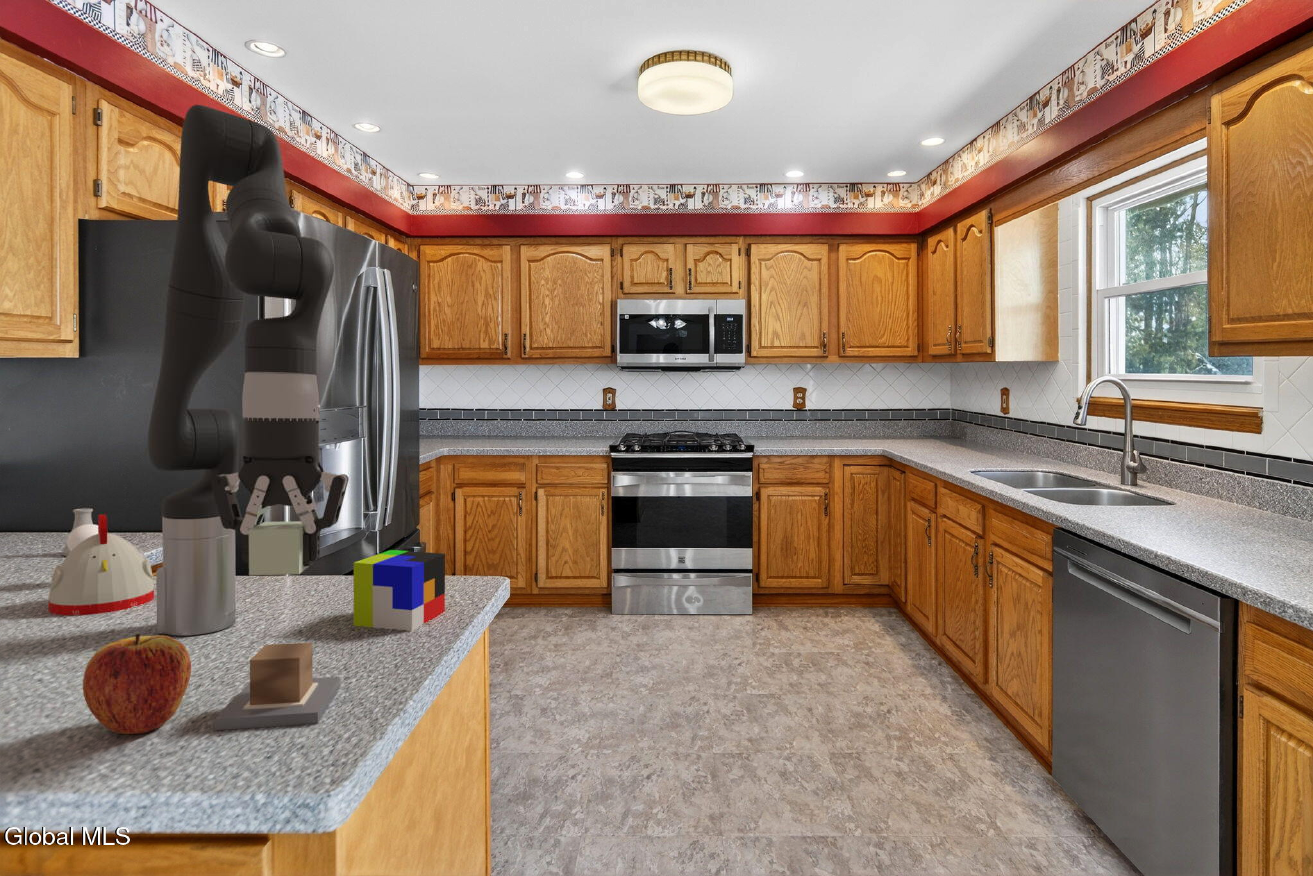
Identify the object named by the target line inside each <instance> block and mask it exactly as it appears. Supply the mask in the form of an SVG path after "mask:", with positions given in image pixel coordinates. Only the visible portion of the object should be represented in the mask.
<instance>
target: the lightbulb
mask: <svg viewBox="0 0 1313 876" xmlns="http://www.w3.org/2000/svg"><path fill="white" fill-rule="evenodd" d="M71 531H72V530H71ZM71 531H70V533H69V534H68V537H67V538H66V543H67V546H68V548H69V550H70V551H72V550H73V549H74V548H75V547H76V546H77V545H78V544H80V543H81V542H82V541H84V540H85V539H87V538H89V537H91V536H93V535H96V534H98V524H94V523H93V524H86V525H82V526H79V527H77V528H75V529H74V530H73V531H72V532H71Z"/></svg>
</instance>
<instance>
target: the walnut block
mask: <svg viewBox="0 0 1313 876" xmlns="http://www.w3.org/2000/svg"><path fill="white" fill-rule="evenodd" d="M312 678H313V642H297V643H294V642H293V643H273V644H265V645H264V646H263V647H262V648H261V649H260V650H258V651H257V653H256V654H255V655H253V657H252V658H251V659H250V660H249V683H250V705H263V704H279V703H295V702H300V701H301V700H302V698H303V697H304V695H305V694H306V693H307V691H308V690H309V689H310V687H311V686H312Z"/></svg>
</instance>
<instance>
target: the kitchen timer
mask: <svg viewBox="0 0 1313 876" xmlns="http://www.w3.org/2000/svg"><path fill="white" fill-rule="evenodd" d="M97 525H98V534H96V535H93V536H91V537H89V538H87V539H85V540H84V541H82V542H81V543H80V544H78V545H77V546H76V547H75V548H74V549H73V550H72V551H71V552H70V553H69V554H68V556H65V558H64V559H63V561H62V562H61V564H60V565H59V564H58V565H57V566H56V567H55V569H54V571H53V573H52V577H51V582H50V587H49V588H50V592H49V595H48V611H49V612H50V613H51V614H53V615H57V616H59V615H60V616H88V615H89V616H90V615H98V614H99V615H100V614H104V613H105V614H107V613H114V612H118V611H119V612H120V611H124V610H128V608H129V609H133V608H135V607H134V606H137V607H140V606H142V605H141V604H143V605H145V604H148V603H150V602H151V601H153V600H154V598H155V585H154V579H153V577H154V575H153V572H152V571H153V570H152V567H151V564H150V563H151V562H150V559H147V558H146V557H145V556H143V555H142V554H141V553H140V551H139V550H138V549H137V548H136V547H135V545H133V544H132V543H130V542H129V541H128V540H126V539H125V538H122V536H119V535H116V534H113V533H108V518H107V514H98V524H97ZM152 599H153V600H152ZM149 601H150V602H149ZM147 602H148V603H147ZM144 603H145V604H144ZM139 605H140V606H139ZM132 607H133V608H132Z"/></svg>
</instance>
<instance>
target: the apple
mask: <svg viewBox="0 0 1313 876" xmlns="http://www.w3.org/2000/svg"><path fill="white" fill-rule="evenodd" d="M191 676H192V661H191V656H190V654H189V651H188V649H187V648H186V646H185V645H184V644H183V643H182V642H181V641H178V640H177V639H175V638H173V637H170V636H167V635H164V634H163V635H160V634H159V635H141V633H136V634H135V635H134V636H132V637H127V638H126V637H125V638H123V639H122V638H121V639H118V640H116V641H115V640H114V641H112V642H109V643H107V644H105V645H104V646H102V647H101V648H99V649H98V650H97V651H95V653H94V654H93V655H92V656H91V658H90V659H89V661H88V662H87V665H86V667H85V669H84V674H83V678H82V679H83V680H82V693H83V699H84V700H85V703H86V705H87V707H88V709H89V711H90V713H91V714H92V716H93V717H94V718H95V719H96V720H97V721H98V722H99V724H101V725H102V726H103V727H104V728H106V729H107V730H108V731H111V732H113V733H115V734H121V735H135V734H136V735H137V734H145V733H148V732H151V731H154V730H156V729H158V728H160V727H162V726H163V725H165V724H166V723H167V722H168V721H169V720H171V718H172V717H173V716H174V715H175V714H176V712H177V710H178V709H179V707H180V705H181V703H182V701H183V698H184V697H185V694H186V692H187V689H188V687H189V684H190V680H191Z"/></svg>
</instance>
